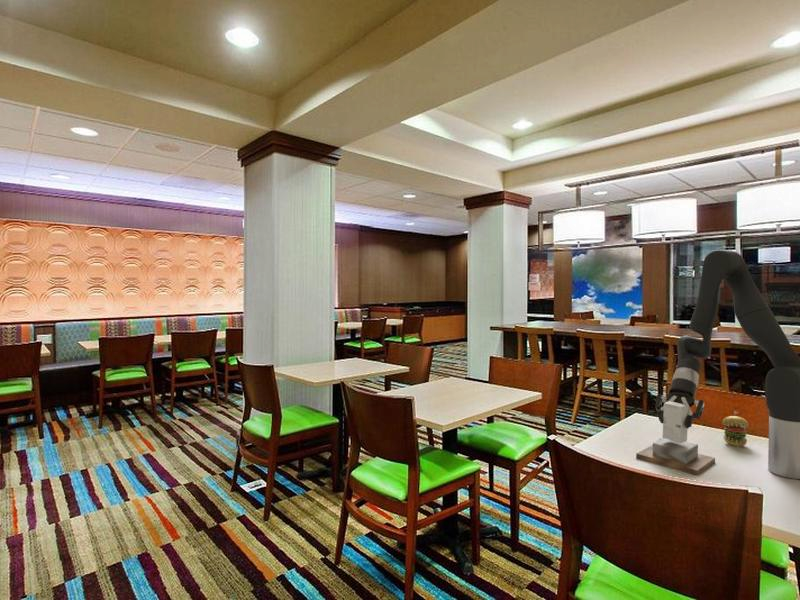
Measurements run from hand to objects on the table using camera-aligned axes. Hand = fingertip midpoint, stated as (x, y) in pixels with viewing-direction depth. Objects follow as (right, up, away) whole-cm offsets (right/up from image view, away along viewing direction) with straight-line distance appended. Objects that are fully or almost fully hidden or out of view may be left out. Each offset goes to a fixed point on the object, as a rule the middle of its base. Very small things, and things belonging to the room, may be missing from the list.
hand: (674, 424), depth 146 cm
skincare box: (+1, -6, +1) cm, 6 cm away
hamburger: (+32, -12, +16) cm, 37 cm away
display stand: (+1, -12, +1) cm, 12 cm away
